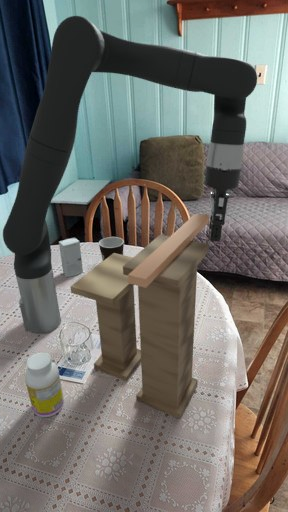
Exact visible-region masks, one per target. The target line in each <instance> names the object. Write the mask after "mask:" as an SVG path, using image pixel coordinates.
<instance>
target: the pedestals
mask: <svg viewBox="0 0 288 512" xmlns="http://www.w3.org/2000/svg"><path fill="white" fill-rule="evenodd" d="M169 237H170V236H169V235H163V234H159V235H158V236H157V237H155V238H154V239H153V240H152V241H151V242H149V243H148V244H147V245H146V246H145V247H144V248H142V250H140V251H139V252H138V253H137V254H136V255H134V256H129V255H125V254H123V255H121V254H116V253H113V254H112V255H110V256H109V257H108V258H107V259H105V260H104V261H103V260H102V262H100V263H99V264H97V265H96V266H94V267H93V268H92V269H91V270H90V271H88V272H86V274H85V275H83V276H82V277H80V278H79V279H78V280H76V282H74V283H73V284H72V285H70V293H71V294H73V295H76V296H80V297H84V298H87V299H90V300H94V301H95V306H96V313H97V314H96V315H97V323H98V325H97V326H98V333H99V340H100V341H99V342H100V352H101V355H100V356H99V357H98V359H97V360H96V361H95V362H94V363H93V369H94V370H97V371H100V372H102V373H105V374H107V375H110V376H112V377H115V378H117V379H120V380H122V381H124V382H128V380H130V378H131V377H132V375H133V374H134V373H135V371H136V370H137V368H139V366H140V365H141V388H140V389H139V391H137V394H136V396H135V398H136V401H137V402H139V403H142V404H143V405H146V406H148V407H151V408H153V409H155V410H157V411H160V412H163V413H165V414H167V415H169V416H171V417H174V418H176V419H178V420H180V419H181V417H182V415H183V413H184V411H185V409H186V407H187V406H188V403H189V401H190V399H191V398H192V396H193V394H194V391H195V390H196V387H197V386H198V382H199V381H198V379H197V378H194V377H193V362H194V359H193V358H194V341H195V340H194V339H195V338H194V337H195V323H196V322H195V321H196V319H195V317H196V297H197V278H198V275H197V274H198V265H199V264H200V263H201V261H202V260H203V259H204V258H205V257H206V255H208V253H209V250H210V249H209V248H210V244H209V243H204V242H200V241H194V240H191V241H190V242H189V243H188V245H187V246H186V247H185V248H184V249H183V250H182V251H181V252H180V253H179V254H178V255H177V256H176V257H175V258H174V259H173V260H172V261H171V262H170V263H169V264H168V265H167V266H166V268H165V269H164V270H163V271H162V272H161V273H160V274H159V275H158V276H157V277H156V278H155V279H154V280H153V281H152V282H151V283H150V284H149V285H148V286H147V287H146V288H144V287H141V286H137V295H138V297H137V298H138V315H139V317H138V318H139V338H140V339H139V342H140V349H138V347H137V345H138V344H137V327H136V309H135V307H136V306H135V288H134V287H135V285H133V284H130V283H129V281H128V274H130V273H131V272H132V271H133V270H134V269H135V268H136V267H137V266H138V265H139V264H141V263H142V262H143V261H144V260H145V259H146V258H147V257H148V256H149V255H150V254H152V253H153V252H154V251H155V250H156V249H157V248H158V247H159V246H160V245H161V244H163V243H164V242H165V241H166V240H167V239H168V238H169Z"/></svg>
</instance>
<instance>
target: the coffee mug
mask: <svg viewBox="0 0 288 512" xmlns="http://www.w3.org/2000/svg"><path fill="white" fill-rule="evenodd" d="M98 246H99V250H100V255H101V259H102V262H103V261H104V260H105V259H107V258H108V257H109V256H110V255H112V254H113V253H116V254H121V255H124V246H125V241H124V239H123V238H121V237H117V236H110V237H109V236H108V237H104V238H102V239H100V240H99V241H98Z"/></svg>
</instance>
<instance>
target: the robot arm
mask: <svg viewBox="0 0 288 512" xmlns="http://www.w3.org/2000/svg"><path fill="white" fill-rule="evenodd" d="M53 34H54V35H53V39H52V43H51V49H50V56H49V62H48V67H47V68H48V69H47V74H46V81H45V84H44V89H43V92H42V95H41V98H40V101H39V103H38V106H37V110H36V113H35V117H34V120H33V123H32V127H31V130H30V133H29V136H28V141H27V144H26V147H25V152H24V156H23V162H22V165H21V171H20V174H19V179H18V187H17V192H16V196H15V199H14V202H13V205H12V207H11V209H10V210H11V211H10V213H9V216H8V218H7V220H6V221H5V224H4V227H3V230H2V240H3V242H4V245H5V246H6V248H7V249H8V250H9V251H10V252H11V253H13V254H14V260H13V268H14V269H13V270H14V273H15V277H16V282H17V287H18V291H19V295H20V299H19V301H18V304H19V309H20V314H21V318H22V322H23V326H24V331H28V332H31V333H33V334H46V333H50V332H52V331H54V330H56V329H57V328H58V327H59V326H60V325H61V323H62V318H61V317H62V316H61V312H60V306H59V301H58V295H57V290H56V289H57V288H56V284H55V276H54V269H53V265H52V248H51V239H50V234H49V226H48V222H47V221H46V218H47V214H48V211H49V208H50V204H51V203H52V201H53V198H54V196H55V194H56V192H57V190H58V188H59V186H60V184H61V182H62V179H63V177H64V175H65V172H66V170H67V168H68V165H69V161H70V159H71V154H72V152H73V149H74V145H75V142H76V136H77V130H78V129H77V128H78V127H77V126H78V120H79V119H78V117H79V109H80V105H81V101H82V99H83V95H84V92H85V89H86V87H87V84H88V81H89V79H90V77H91V75H92V73H102V74H103V73H104V74H107V73H108V74H117V75H122V76H123V75H124V76H129V77H133V78H136V79H140V80H144V81H147V82H151V83H154V84H158V85H161V86H165V87H169V88H173V89H177V90H182V91H187V92H191V93H193V92H194V93H206V94H208V95H213V96H214V97H213V99H214V101H213V122H212V125H211V126H212V128H211V136H210V141H209V148H208V151H207V159H206V164H205V165H206V167H205V172H204V174H205V175H204V185H205V186H206V187H208V188H212V192H210V194H209V200H210V201H209V208H210V212H209V213H210V217H209V227H208V228H209V229H210V235H209V237H210V238H209V239H210V241H211V242H220V241H221V237H222V228H223V226H225V224H226V222H225V219H226V215H227V211H228V210H227V209H228V205H229V201H230V197H229V194H228V193H227V191H228V190H236V189H238V187H239V184H240V183H239V182H240V179H241V171H242V166H243V165H242V164H243V160H244V159H243V157H244V145H245V144H244V143H245V138H246V131H247V118H246V116H245V110H246V103H247V98H249V96H250V95H251V94H253V92H254V90H255V89H256V87H257V84H258V83H257V82H258V74H257V71H256V68H254V66H253V65H252V64H250V63H249V62H247V61H245V60H243V59H237V58H231V57H223V56H213V55H212V56H211V55H206V54H203V53H200V52H196V51H192V50H188V49H184V48H180V47H179V48H178V47H173V46H168V45H160V44H152V43H142V42H136V41H131V40H127V39H125V38H120V37H117V36H115V35H112V34H110V33H108V32H105V31H103V30H101V29H99V28H98V27H97V26H96V25H95V24H94V23H93V22H92V21H91V20H89V19H88V18H86V17H84V16H81V15H72V16H68V17H66V18H65V19H63V20H62V21H61V22H60V23H59V25H57V28H56V29H55V32H54V33H53Z"/></svg>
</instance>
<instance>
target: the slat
mask: <svg viewBox="0 0 288 512" xmlns="http://www.w3.org/2000/svg"><path fill="white" fill-rule="evenodd" d="M209 224H210V215H208V214H203V213H197V212H196V213H194V214H193V215H192V216H191V217H190V218H189V219H187V220H186V221H185V222H184V223H183V224H182V225H181V226H180V227H179V228H178V229H177V230H176V231H174V232H173V233H172V234H171V235H170V236H169V238H168V239H167V240H166V241H165V242H164V243H163V244H161V245H160V246H159V247H158V248H157V249H156V250H155V251H154V252H153V253H152V254H150V255H149V256H148V257H147V258H146V259H145V260H144V261H143V262H142V263H141V264H139V265H138V266H137V267H136V268H135V269H134V270H133V271H132V272H131V273H130V274H128V281H129V283H130V284H133V285H134V286H137V287H138V286H141V287H144V288H146V287H147V286H148V285H149V284H150V283H151V282H152V281H153V280H154V279H155V278H156V277H157V276H158V275H159V274H160V273H161V272H162V271H163V270H164V269H165V268H166V266H167V265H168V264H169V263H170V262H171V261H172V260H173V259H174V258H175V257H176V256H177V255H178V254H179V253H180V252H181V251H182V250H183V249H184V248H185V247H186V246H187V245H188V243H189V242H190V241H193V240H194V238H195V237H197V235H198V234H199V233H200V232H201V231H202V230H203V229H204V228H205V227H206V226H207V225H209Z"/></svg>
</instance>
